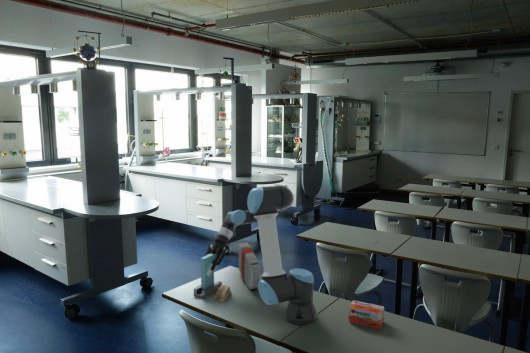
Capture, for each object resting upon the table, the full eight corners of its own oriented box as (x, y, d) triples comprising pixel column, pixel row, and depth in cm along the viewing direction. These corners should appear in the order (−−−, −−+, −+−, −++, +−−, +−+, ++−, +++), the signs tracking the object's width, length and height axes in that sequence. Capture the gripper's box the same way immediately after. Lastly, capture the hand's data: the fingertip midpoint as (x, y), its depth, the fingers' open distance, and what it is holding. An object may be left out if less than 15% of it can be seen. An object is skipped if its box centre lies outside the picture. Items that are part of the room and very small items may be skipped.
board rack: (222, 288, 224) (221, 281, 223) (204, 299, 212) (204, 292, 211) (211, 285, 228) (211, 278, 227) (193, 295, 215) (193, 288, 215)
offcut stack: (231, 293, 219) (231, 286, 218) (223, 302, 208) (223, 294, 208) (221, 292, 220) (221, 284, 220) (213, 301, 210) (213, 293, 209)
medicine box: (383, 321, 191) (384, 306, 190) (381, 330, 184) (382, 313, 182) (351, 314, 197) (352, 299, 196) (348, 322, 190) (349, 307, 188)
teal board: (214, 283, 222) (213, 254, 220) (204, 289, 216) (204, 259, 213) (210, 282, 224) (210, 253, 221) (201, 288, 217) (200, 258, 214)
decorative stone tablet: (237, 242, 241) (250, 264, 213) (248, 241, 243) (262, 263, 215) (237, 271, 246) (250, 297, 218) (247, 270, 247) (261, 295, 220)
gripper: (237, 242, 227) (219, 280, 216) (215, 238, 235) (197, 274, 223) (231, 236, 222) (213, 274, 210) (209, 231, 229) (190, 268, 218)
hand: (205, 274), depth 217 cm, fingers closed on teal board, 2 cm apart
